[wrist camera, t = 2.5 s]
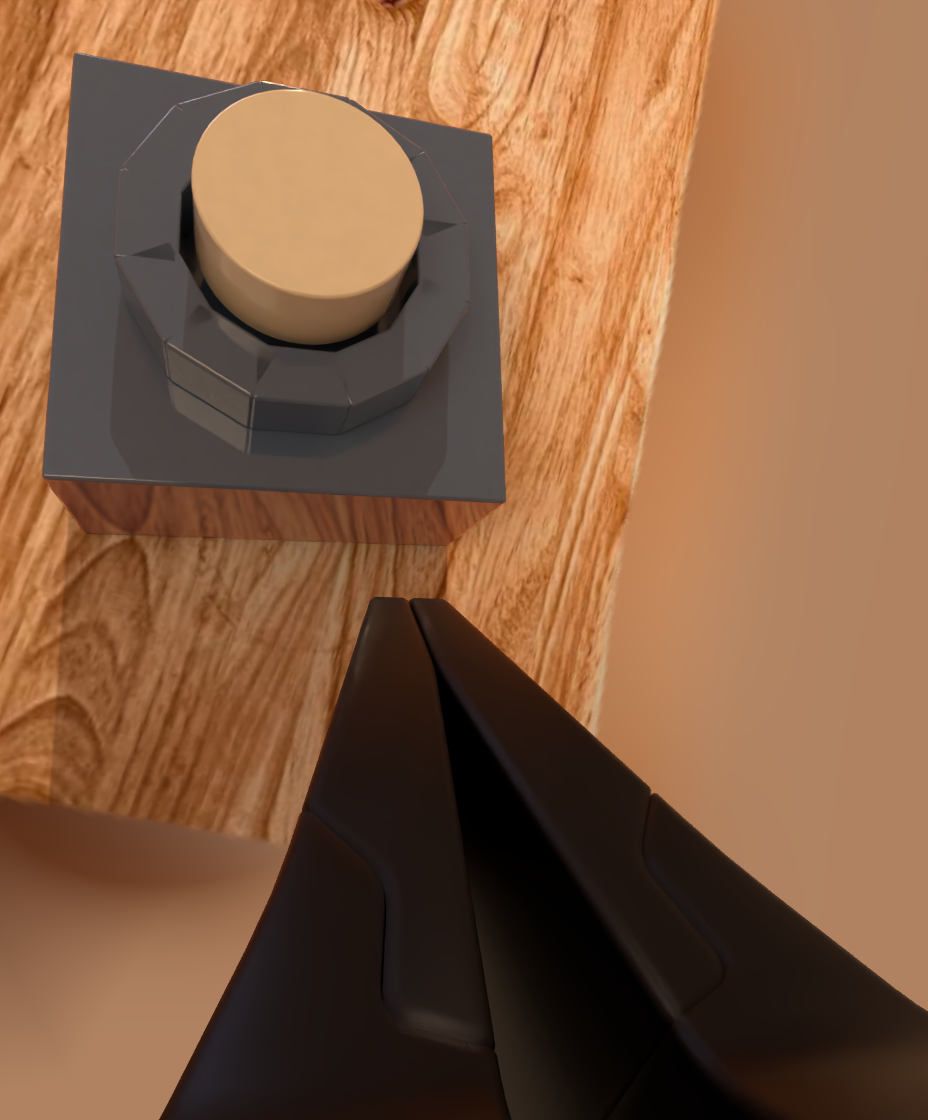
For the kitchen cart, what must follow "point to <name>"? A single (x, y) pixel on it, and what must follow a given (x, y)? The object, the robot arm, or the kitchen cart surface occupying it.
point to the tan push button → (303, 215)
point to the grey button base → (261, 347)
